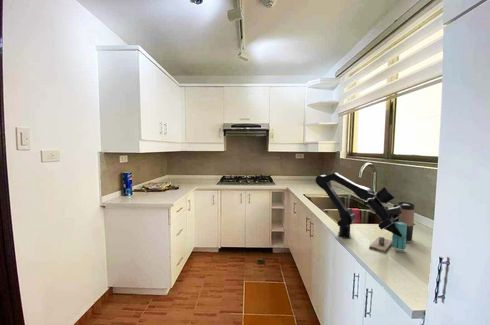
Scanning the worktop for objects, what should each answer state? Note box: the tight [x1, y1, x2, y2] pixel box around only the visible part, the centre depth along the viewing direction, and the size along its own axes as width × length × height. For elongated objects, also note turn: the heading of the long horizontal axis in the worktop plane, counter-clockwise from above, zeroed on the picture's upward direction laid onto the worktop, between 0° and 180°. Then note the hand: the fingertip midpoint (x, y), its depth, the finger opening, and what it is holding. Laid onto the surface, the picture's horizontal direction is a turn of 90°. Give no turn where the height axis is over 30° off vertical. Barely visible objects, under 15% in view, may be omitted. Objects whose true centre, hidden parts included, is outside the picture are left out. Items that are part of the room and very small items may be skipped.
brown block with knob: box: [369, 236, 392, 253], centre depth 121 cm, size 7×16×4 cm, turn 136°
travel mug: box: [396, 201, 415, 242], centre depth 129 cm, size 8×8×20 cm
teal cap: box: [391, 222, 407, 250], centre depth 115 cm, size 6×6×12 cm
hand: (402, 234), depth 114 cm, fingers closed on teal cap, 6 cm apart
